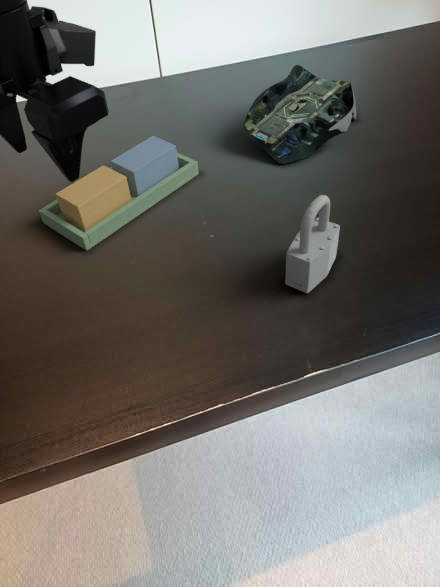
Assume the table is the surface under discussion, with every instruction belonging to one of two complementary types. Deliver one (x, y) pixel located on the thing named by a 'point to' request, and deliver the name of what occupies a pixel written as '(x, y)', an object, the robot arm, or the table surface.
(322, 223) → the padlock
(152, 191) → the tray
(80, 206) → the tan block
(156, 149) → the blue block
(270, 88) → the model
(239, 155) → the table surface
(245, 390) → the table surface
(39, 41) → the robot arm
